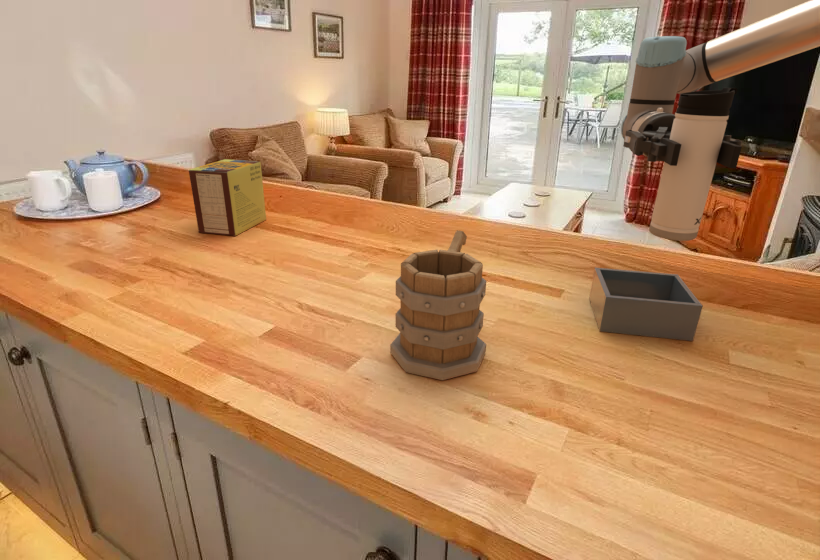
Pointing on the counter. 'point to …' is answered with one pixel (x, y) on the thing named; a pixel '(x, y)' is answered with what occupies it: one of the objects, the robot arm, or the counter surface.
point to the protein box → (228, 196)
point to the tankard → (440, 313)
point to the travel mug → (691, 163)
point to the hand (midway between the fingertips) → (705, 156)
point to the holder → (644, 304)
